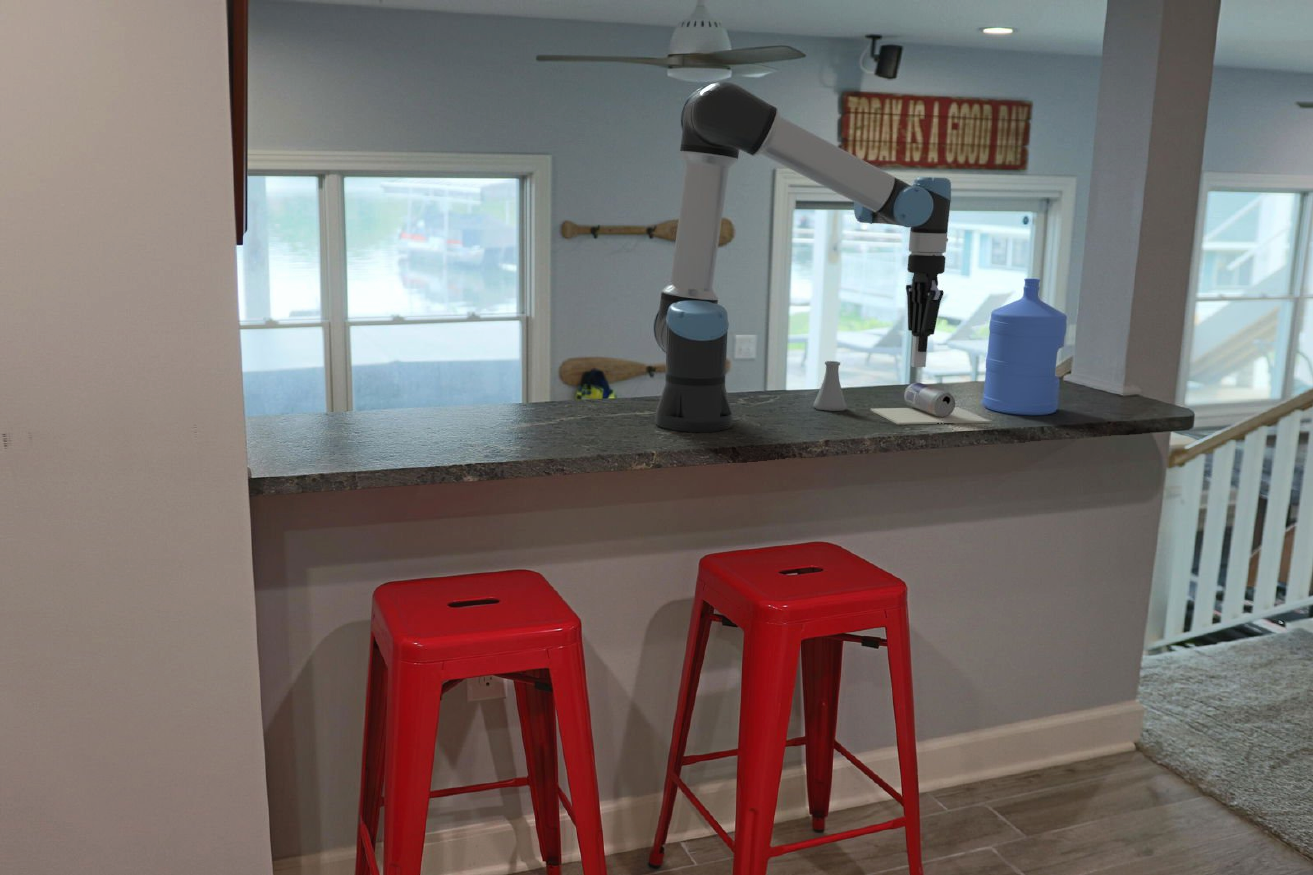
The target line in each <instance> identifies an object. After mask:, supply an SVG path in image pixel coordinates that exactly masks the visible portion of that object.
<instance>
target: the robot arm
mask: <svg viewBox="0 0 1313 875" xmlns="http://www.w3.org/2000/svg"><path fill="white" fill-rule="evenodd" d="M680 127H681V130H682V133H681V140H680V146H679V148H680V149H679V154H680V155H681V157H682V158H683V160H685V169H684V176H683V184H682V191H681V192H682V193H681V199H680V205H679V206H680V207H679V212H678V213H679V215H678V220H677V221H678V222H677V228H676V237H675V244H674V252H673V253H674V254H673V259H672V265H671V266H672V268H671V275H670V281H669V284H668V285H667V286H665V287H664V288H662V289H661V291H660V292H661V294H660V299H659V300H660V301H659V306H658V308H659V309H658V310H657V313H656V315H655V318H654V321H653V325H652V326H653V327H652V328H653V330H652V331H653V335H654V338H655V341H656V343H657V345H658V347H659V348H660V349H661V350H662V352H663V353H664V354H665V381H664V382H665V383H664V387H663V390H662V393H661V396H660V399H659V401H658V404H657V407H656V410H655V416H654V417H655V421H654V422H655V425H656V426H658V427H659V428H660V427H661V428H663V429H667V430H672V431H680V432H687V433H688V432H689V433H711V432H718V431H723V430H728V429H730V428H732V427H733V424H734V414H733V410H732V406H731V403H730V400H729V395H728V392H727V388H726V375H727V373H726V372H727V355H728V354H727V353H728V351H727V350H728V330H729V326H730V325H729V324H730V323H729V321H728V320H729V319H728V318H729V316H728V315H729V314H728V311H727V310H726V308H725V307H724V306H722V305H721V304H718V303H719V297H718V295H717V294H716V292H715V291H714V289H713V284H714V277H715V270H716V269H715V268H716V265H717V264H716V262H717V256H718V248H719V243H720V242H719V241H720V236H721V228H722V221H723V220H722V219H723V215H724V214H723V212H724V207H725V206H724V205H725V199H726V192H727V185H728V178H729V170H730V168H731V167H732V166H733V165H734V164H736V162H738V161H739V156H740V155H739V154H740V151H742V152H744V153H746V154H749V156H750V155H751V156H752V157H755V156H759V155H763V156H764V157H766V158H768V159H770V160H772V161H774V162H776V163H778V164H780V165H781V166H783V167H786V168H788V169H790V170H792V172H793V171H794V172H795V173H797V174H799V175H801V176H804V177H805V178H808V179H809V180H811V181H812V182H815V183H817V184H819V185H821V186H823V187H825V188H827V189H828V190H831V191H832V192H835V193H836V194H839V195H840V196H843V197H844V198H846V199H848V200H850V201H852V202H853V212H854V218H855V219H856V220H857V222H859V223H861V224H862V223H864V224H870V225H874V224H882V225H892V226H900V227H901V226H902V227H904V228H910V230H909V231H910V232H909V238H908V239H909V241H908V242H909V243H908V251H909V252H910V254H909V255H908V256H907V259H908V260H907V272H908V273H912V274H913V276H912V280H911V284H906V285H905V290H906V299H907V300H906V301H907V302H906V304H907V331H909V332H911V335H912V345H911V356H910V357H911V358H910V359H911V360H910V367H913V368H926V367H927V366H926V365H927V355H928V354H927V353H928V340H929V337H930V336H931V335H935V331H936V327H937V320H938V316H939V312H940V311H939V310H940V306H941V301H942V299H943V297H944V290H943V289H941V290H940V289H939V288H938V286H939V280H938V278H939V277H938V275H941V274H943V273H945V269H946V256H945V255H943V254H945V253H946V252H947V243H948V242H949V238H948V233H949V232H948V228H949V220H950V209H951V203H952V182H951V180H950V179H949V178H947V177H934V176H933V177H931V176H929V177H928V176H927V177H926V176H917V177H915V178H914V180H913V183H912V184H909V183H906V182H905V181H903V180H901V179H899V178H897V177H896V176H893V175H892V174H890V173H888V172H886V171H885V170H882V169H881V168H879V167H877V166H874V165H873V164H871V163H869V162H867V161H866V160H864V159H862V158H860V157H858V156H856V155H854V154H852V153H850V152H848V151H846V150H844V149H843V148H841V147H838V146H837V145H835V144H833V143H832V142H829V141H827V140H826V139H824V138H822V137H820V136H818V135H816V134H814V133H812V132H811V131H808V130H807V129H805V128H803V127H802V126H799V125H798V124H796V123H794V122H791V121H789V120H787V119H786V118H784V117H782V116H781V115H780V112H779V108H777V107H776V106H773V105H772V104H770V103H768V102H766V101H764V99H762V98H760V97H758V96H756V95H755V94H753V93H751V92H750V91H748V90H747V89H746V88H743V87H742V86H740V85H738V84H735V83H732V82H729V81H717V82H714V83H711V84H709V85H706V86H702V87H700V88H698V89H697V90H695V91H694V92H693V93H692V94H691V95H690V96H689V97H688V98H687V99H686V101H685V102H684V104H683V105H682V109H681V112H680Z"/></svg>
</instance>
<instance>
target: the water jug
mask: <svg viewBox="0 0 1313 875" xmlns="http://www.w3.org/2000/svg"><path fill="white" fill-rule="evenodd" d="M1023 282H1024V286H1023V294H1022V297H1020V299H1017V300H1014V301H1012V302H1010V303H1007V304H1006V305H1002V306H1000V307H998V308H995V309H993V310H992V311H991V315H990V319H989V327H988V328H989V334H988V343H987V344H988V345H987V352H986V353H987V355H986V357H985V358H986V359H985V373H984V374H985V376H984V378H985V379H984V387H983V393H982V400H981V403H982V405H983V406H984V407H985V408H986V409H988V410H991V411H993V412H996V413H997V412H998V413H1002V414H1007V415H1017V416H1044V415H1045V416H1047V415H1051V414H1054V413H1055V412H1057V410H1058V407H1059V393H1060V392H1059V391H1060V381H1061V380H1060V378H1059V377H1058V376H1056V369H1057V368H1056V367H1057V359H1058V352H1059V350H1060V349H1062V348H1064V346H1065V337H1066V332H1067V318H1068V317H1067V315H1066V314H1065V313H1063V312H1062V311H1060V310H1058V309H1057V308H1055V307H1053V306H1051V305H1050V304H1048V303H1046V302H1044V301H1043V300H1041V299H1040V298H1039V292H1040V282H1041V279H1039V278H1024V281H1023Z"/></svg>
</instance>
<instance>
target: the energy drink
mask: <svg viewBox="0 0 1313 875" xmlns="http://www.w3.org/2000/svg"><path fill="white" fill-rule="evenodd" d="M903 398H904V402H905V404H906V405H908V406H909V407H910V408H916V409H919V410H921V411H924V412H927V413H929V414H932V415H935V416H937V417H946V416H949V415H950V414H951V413H952V412H953V410H954V408H955V407H956V399H955V398H954V397H953V395H952V394H951V393H950V392H947V391H945V390H942V389H940V388H936V387H934V386H930V385H927V384H924V383H921V382H917V381H916V382H912V383H910V384H909V385H908V386H906V388H905V390H904V393H903Z"/></svg>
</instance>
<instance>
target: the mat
mask: <svg viewBox="0 0 1313 875" xmlns="http://www.w3.org/2000/svg"><path fill="white" fill-rule="evenodd" d="M870 411H871V412H872V413H874V414H877V415H878V416H881V417H883V418H884V419H886V420H887V421H890V422H892V423H894V424H896V425H899V426H900V425H941V423H942V425H945V424H944V423H954V424H989V423H991V420H989V419H986V418H984V417H982V416H980V415H977V414H974V412H970V411H967V410H966V409H963V408H961V407H958V406H955V408H954V410H953V412H952V413H951V414H950V415H949V416H946V417H937V416H935V415H932V414H929V413H927V412H924V411H921V410H919V409H916V408H914V407H890V408H887V407H884V408H883V407H882V408H881V407H880V408H879V407H878V408H870ZM937 423H939V424H937Z"/></svg>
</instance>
